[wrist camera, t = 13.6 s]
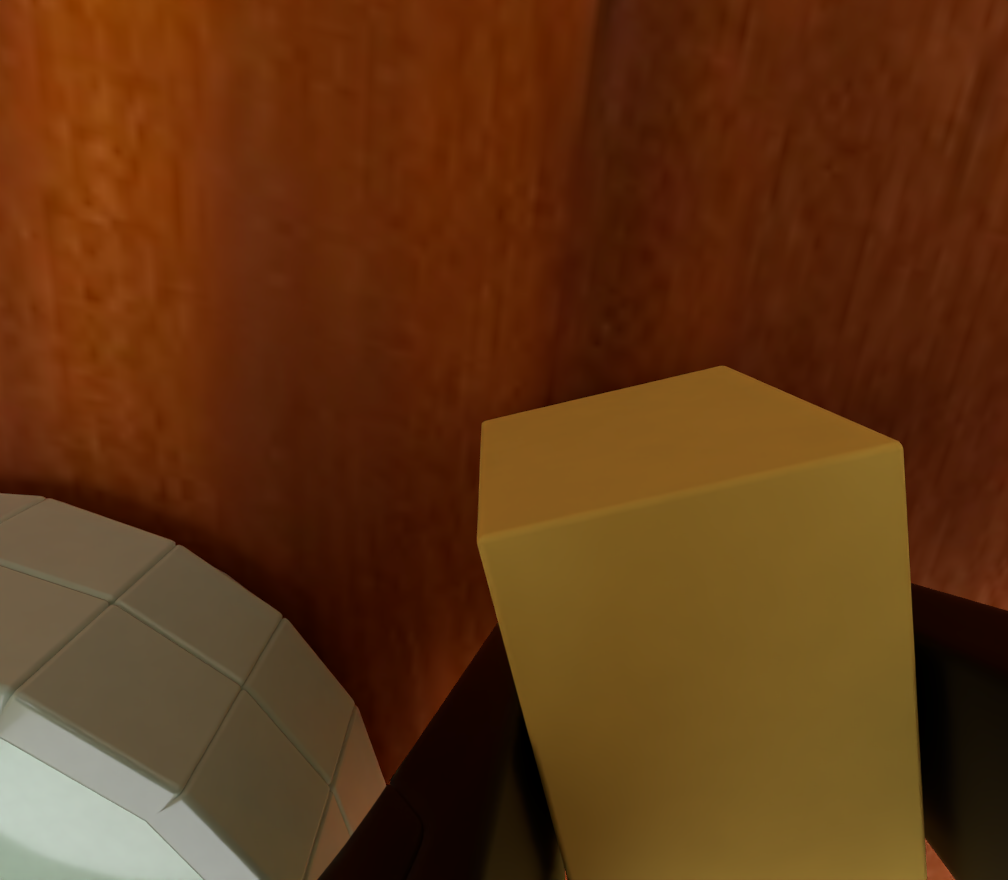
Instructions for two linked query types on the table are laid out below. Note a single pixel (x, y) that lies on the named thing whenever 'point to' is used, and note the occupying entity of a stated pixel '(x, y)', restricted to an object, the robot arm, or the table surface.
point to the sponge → (709, 631)
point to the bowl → (161, 715)
